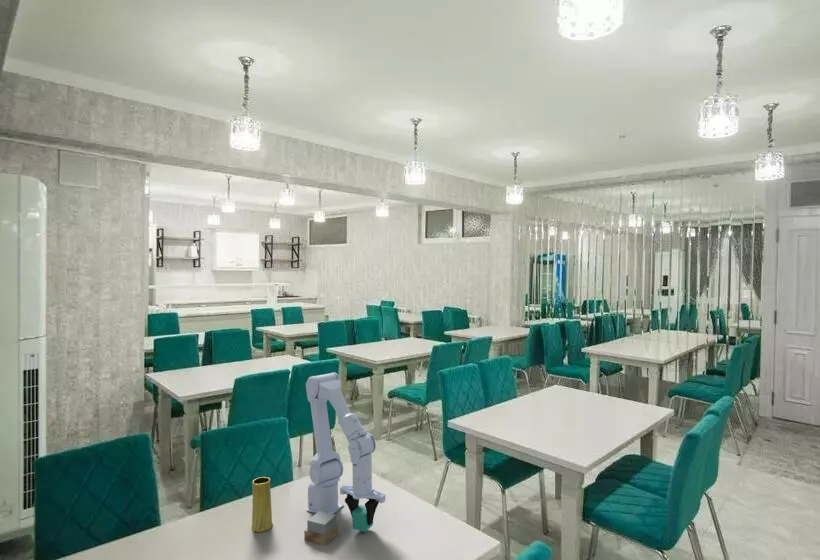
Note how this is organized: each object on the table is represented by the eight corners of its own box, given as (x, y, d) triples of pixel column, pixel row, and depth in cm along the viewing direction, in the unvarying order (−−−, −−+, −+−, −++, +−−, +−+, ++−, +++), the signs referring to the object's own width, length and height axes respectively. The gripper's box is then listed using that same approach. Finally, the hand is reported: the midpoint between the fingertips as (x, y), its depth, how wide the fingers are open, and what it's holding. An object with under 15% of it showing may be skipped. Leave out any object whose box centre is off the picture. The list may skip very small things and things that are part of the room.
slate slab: (307, 530, 135) (307, 520, 135) (319, 520, 140) (319, 510, 140) (324, 535, 132) (324, 524, 132) (336, 524, 138) (336, 514, 138)
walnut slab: (304, 541, 135) (304, 530, 135) (319, 529, 141) (318, 519, 141) (324, 546, 132) (324, 536, 132) (338, 534, 138) (338, 524, 138)
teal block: (352, 528, 138) (352, 511, 138) (360, 521, 142) (359, 504, 142) (365, 531, 136) (365, 514, 136) (373, 524, 140) (372, 507, 140)
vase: (247, 527, 142) (247, 480, 142) (266, 519, 146) (265, 474, 146) (258, 534, 138) (257, 486, 138) (276, 526, 142) (275, 480, 142)
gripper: (334, 477, 138) (334, 522, 138) (377, 486, 132) (377, 533, 132) (347, 468, 144) (347, 511, 145) (388, 476, 138) (389, 521, 138)
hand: (362, 521), depth 139 cm, fingers closed on teal block, 4 cm apart
